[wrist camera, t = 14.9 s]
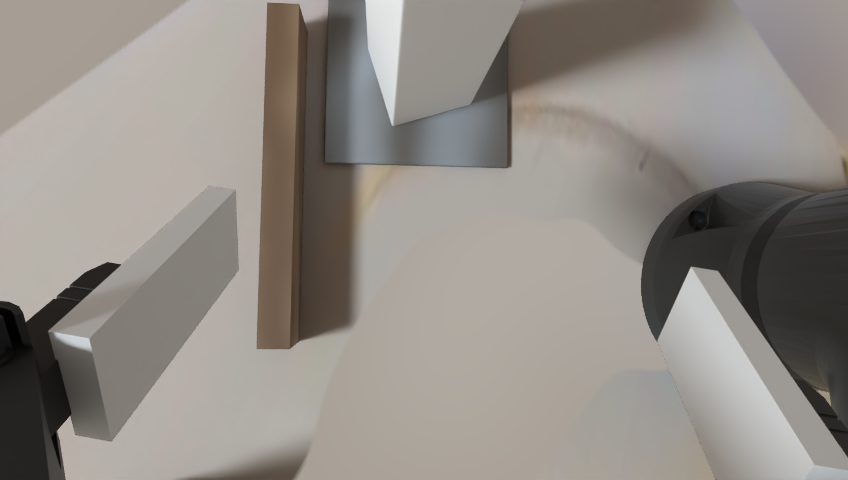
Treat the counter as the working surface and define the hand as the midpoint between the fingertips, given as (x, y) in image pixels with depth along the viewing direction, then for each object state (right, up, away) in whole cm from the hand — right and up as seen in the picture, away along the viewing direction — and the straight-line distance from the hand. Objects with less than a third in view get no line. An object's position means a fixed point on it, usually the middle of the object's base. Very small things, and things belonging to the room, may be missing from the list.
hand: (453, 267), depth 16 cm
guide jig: (-3, +6, +23) cm, 24 cm away
